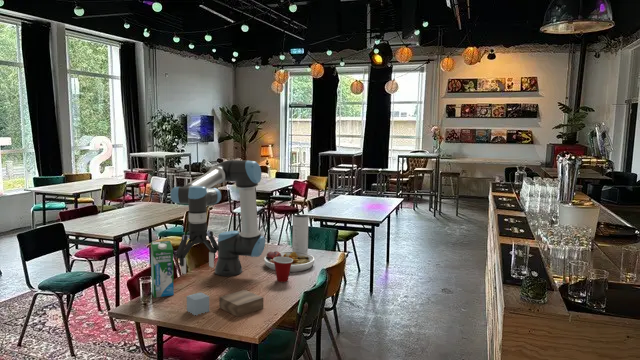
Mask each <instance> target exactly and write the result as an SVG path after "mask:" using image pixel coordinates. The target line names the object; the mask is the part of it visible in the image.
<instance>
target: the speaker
mask: <svg viewBox="0 0 640 360" xmlns="http://www.w3.org/2000/svg"><path fill="white" fill-rule="evenodd" d="M309 219H310V217H309V215H307V214H293V216H292V244H291V245H292V246H291V247H292V249H291V250H292V251H291V252H301V253H306V254H309V248H308V247H309Z"/></svg>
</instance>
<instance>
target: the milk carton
mask: <svg viewBox="0 0 640 360" xmlns="http://www.w3.org/2000/svg"><path fill="white" fill-rule="evenodd" d="M150 269H151V272H150V273H151V277H150V279H151V278H152V284H151V294H152V296H153V299H156V298H162V297H168V296H169V297H170V296H174V293H175V290H174V287H175V286H174V284H175V283H174V249H173V245H172V242H171V240H165V241H152V242H150Z"/></svg>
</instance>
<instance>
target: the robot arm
mask: <svg viewBox="0 0 640 360" xmlns="http://www.w3.org/2000/svg"><path fill="white" fill-rule="evenodd" d="M261 181H262V169H261V166H260V165H259V163H258V162H257V161H255V160H246V159H245V160H241V159H239V160H238V159H237V160H233V159H227V160H224V161H222V162H220V163H216V164H215V165H213V166H212V167H210V168H209V170H208V171H207V172H206V173H204V174H202V175H200V176H198V177H197V178H195V179H194V180H191V181H190V182H189V183H187V184H185V185H184V186H174V187H172V189H171V191H170V200H171V202H173V203H175V204H179V205H180V204H182V205H183V204H185V205H186V204H187V205H188V234H182V235H181V240H180V243H179V245H178V247H177V250H176V252H175V254H174V257H175V258H177V259H179V266H180V270H181V271H180V272H181V273H182V274H183V275H186V274H187V258H186V256H187V255H188V253H189V251H191V248H192V247H193V246H195V245H197V244H204V245H205V247H206V248H207V249H208V250H209V252H208V264H209V265H208V267H210V268H214V267H215V268H214V274H215V275H218V276H221V277H231V276H237V275H239V274H242V273H243V266H242V264H241V261H240V260H241V259H240V256H243V257H251V258H259V257H260V256H261V255H262V254H263V252H264V250H265V247H266V246H265V245H266V238H265V236H263V235H262V233H261V230H259V228H258V210H257V195H256V194H257V193H256V192H257V191H256V188H257V187H258V185H259V183H260V182H261ZM225 182H226V183H227V182H232V183H235V187H236V188H237V189H238V190H239V191H238V192H239V203H240V204H239V205H240V218H241V219H240V220H241V231H240V232H239V231H238V230H229V231H228V230H227V231H223V232H220V233H219V234H218V236H217V241H216V239H215V237H214V232H213V230H208V228H207V226H208V225H207V224H208V222H207V221H208V220H207V218H208V216H207V213H208V212H207V207H208V206H214V205H216V204H218V203H219V202H220V201H221V199H222V194H221V191H220V189H218V188H216V187H214V186H215V185H218V184H222V183H225ZM207 237H208V239H209V241H210V242H209V241H208V239H207ZM210 243H211V244H210ZM216 253H217V261H216V265H215V260H216Z"/></svg>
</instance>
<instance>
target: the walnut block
mask: <svg viewBox="0 0 640 360" xmlns="http://www.w3.org/2000/svg"><path fill="white" fill-rule="evenodd" d="M218 307H219V309H221V310H223V311H225V312H227V313H230V314H232V315H233V316H235V317H242V316H245V315H247V314H251V313H254V312H256V311H259V309H260V310H262V308H263V309H264V297H263V296H261V295H258V294H256V293H254V292H251V291H248V290H247V289H243V290H239V291H236V292H232V293H228V294H225V295H222V296H219V306H218Z"/></svg>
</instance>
